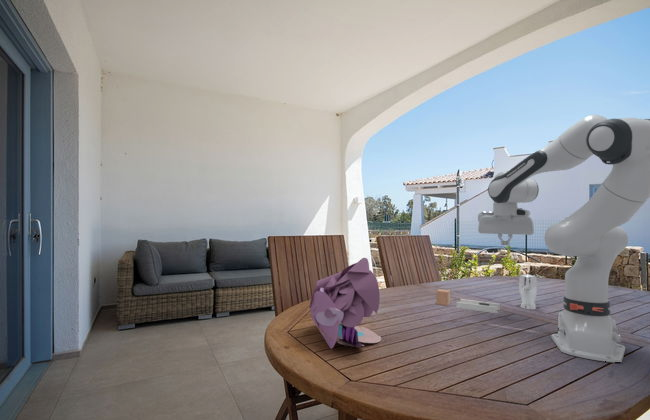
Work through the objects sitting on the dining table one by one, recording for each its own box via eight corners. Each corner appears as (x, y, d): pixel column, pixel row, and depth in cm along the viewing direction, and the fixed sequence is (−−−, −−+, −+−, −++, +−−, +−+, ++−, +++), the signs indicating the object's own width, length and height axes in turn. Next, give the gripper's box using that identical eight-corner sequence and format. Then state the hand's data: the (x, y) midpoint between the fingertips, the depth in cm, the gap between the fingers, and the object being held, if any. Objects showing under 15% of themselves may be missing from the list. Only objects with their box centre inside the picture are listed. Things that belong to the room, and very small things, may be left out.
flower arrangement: (400, 367, 104) (422, 275, 104) (330, 363, 94) (354, 263, 95) (348, 322, 136) (365, 252, 136) (292, 317, 127) (310, 241, 127)
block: (447, 305, 154) (447, 292, 154) (436, 304, 157) (436, 290, 157) (450, 303, 158) (450, 290, 158) (439, 302, 161) (439, 289, 161)
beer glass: (540, 312, 149) (540, 277, 149) (524, 311, 149) (524, 276, 149) (531, 308, 156) (531, 274, 156) (516, 307, 156) (515, 274, 156)
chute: (497, 316, 142) (497, 307, 142) (456, 310, 151) (456, 302, 151) (499, 311, 148) (499, 303, 148) (460, 306, 157) (460, 298, 157)
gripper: (476, 211, 145) (476, 244, 145) (533, 211, 134) (533, 247, 134) (479, 211, 151) (479, 243, 150) (534, 211, 139) (534, 246, 139)
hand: (505, 245), depth 142 cm, fingers closed
